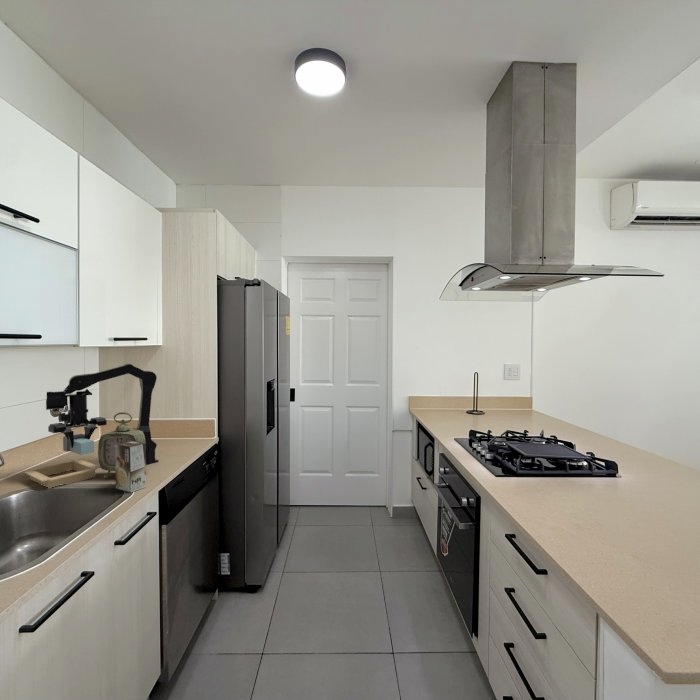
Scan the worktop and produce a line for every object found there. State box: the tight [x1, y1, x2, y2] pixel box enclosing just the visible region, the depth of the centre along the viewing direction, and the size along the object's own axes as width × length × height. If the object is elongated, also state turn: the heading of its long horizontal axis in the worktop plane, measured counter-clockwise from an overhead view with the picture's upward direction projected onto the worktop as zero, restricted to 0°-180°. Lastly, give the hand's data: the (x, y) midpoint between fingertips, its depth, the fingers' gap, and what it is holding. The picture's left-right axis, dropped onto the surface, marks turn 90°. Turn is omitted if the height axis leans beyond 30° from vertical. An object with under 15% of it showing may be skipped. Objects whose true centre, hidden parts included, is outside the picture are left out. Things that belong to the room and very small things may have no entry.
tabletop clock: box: [97, 411, 146, 479], centre depth 157 cm, size 14×9×25 cm, turn 92°
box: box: [62, 433, 95, 456], centre depth 160 cm, size 14×6×6 cm, turn 56°
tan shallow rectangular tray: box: [23, 459, 101, 490], centre depth 155 cm, size 21×19×4 cm
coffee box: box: [115, 441, 147, 493], centre depth 145 cm, size 9×6×16 cm
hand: (79, 446), depth 160 cm, fingers closed on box, 4 cm apart
